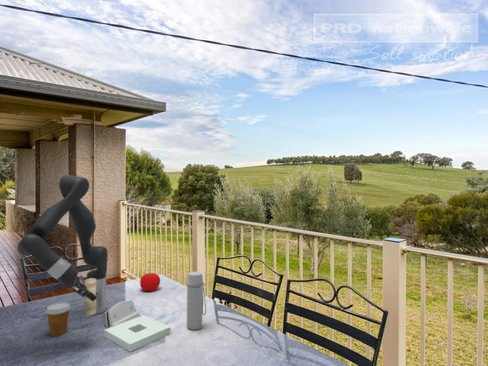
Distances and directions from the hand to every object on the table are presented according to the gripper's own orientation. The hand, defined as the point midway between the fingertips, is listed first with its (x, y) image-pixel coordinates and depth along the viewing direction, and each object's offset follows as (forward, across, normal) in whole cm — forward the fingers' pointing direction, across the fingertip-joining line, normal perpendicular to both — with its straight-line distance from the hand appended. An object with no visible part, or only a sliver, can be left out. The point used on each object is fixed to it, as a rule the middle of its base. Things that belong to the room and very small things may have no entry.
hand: (95, 297), depth 137 cm
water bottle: (+44, -1, -17) cm, 47 cm away
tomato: (+33, +60, -5) cm, 68 cm away
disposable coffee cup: (+2, +15, +25) cm, 29 cm away
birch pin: (+3, 0, +6) cm, 7 cm away
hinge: (+21, +18, +6) cm, 28 cm away
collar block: (+25, 0, +1) cm, 25 cm away
